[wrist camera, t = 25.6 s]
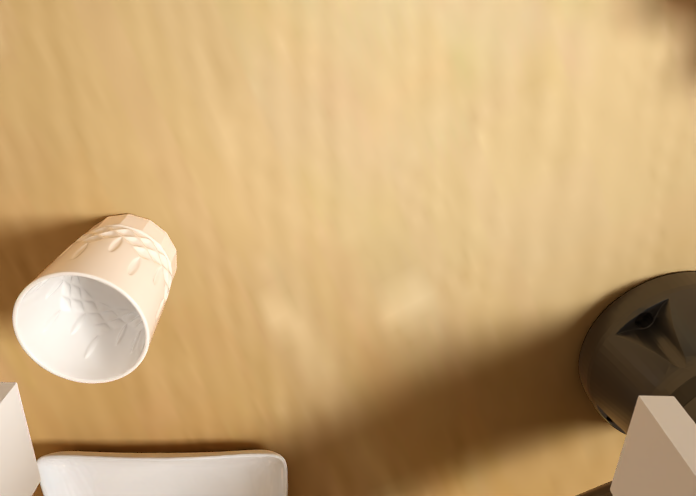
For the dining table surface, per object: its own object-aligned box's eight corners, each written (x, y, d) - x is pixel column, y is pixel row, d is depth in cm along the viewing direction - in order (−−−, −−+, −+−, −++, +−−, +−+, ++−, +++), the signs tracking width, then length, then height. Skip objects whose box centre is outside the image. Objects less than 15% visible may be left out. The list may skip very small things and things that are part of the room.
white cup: (56, 226, 43) (-17, 297, 34) (154, 190, 42) (106, 254, 33) (112, 312, 46) (59, 398, 37) (204, 281, 45) (172, 361, 36)
